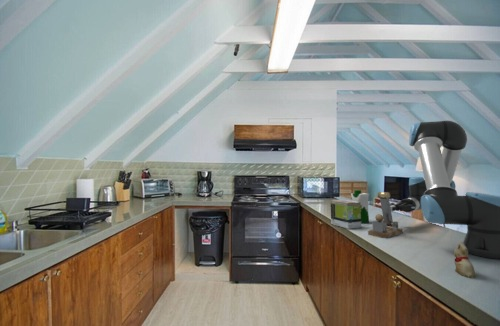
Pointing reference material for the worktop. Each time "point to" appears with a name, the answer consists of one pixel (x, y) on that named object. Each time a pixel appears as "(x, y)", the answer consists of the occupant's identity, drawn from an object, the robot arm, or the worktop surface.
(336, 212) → the tea box
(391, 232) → the bench
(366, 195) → the milk carton
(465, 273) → the chocolate bunny
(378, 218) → the walnut
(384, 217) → the lever
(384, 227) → the grey block
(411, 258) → the worktop surface
